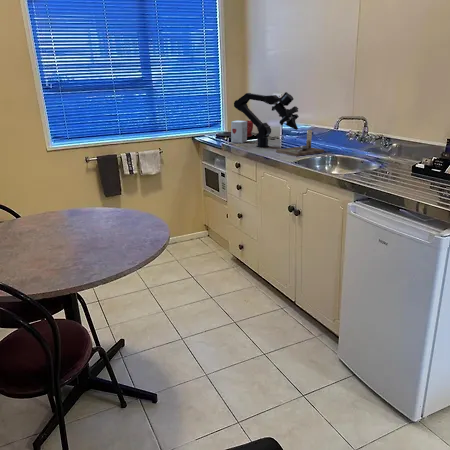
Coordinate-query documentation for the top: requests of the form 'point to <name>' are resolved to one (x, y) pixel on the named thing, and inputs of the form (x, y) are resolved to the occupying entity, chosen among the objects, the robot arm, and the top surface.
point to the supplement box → (239, 131)
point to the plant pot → (249, 128)
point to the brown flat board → (303, 152)
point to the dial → (308, 143)
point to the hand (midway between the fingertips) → (297, 129)
